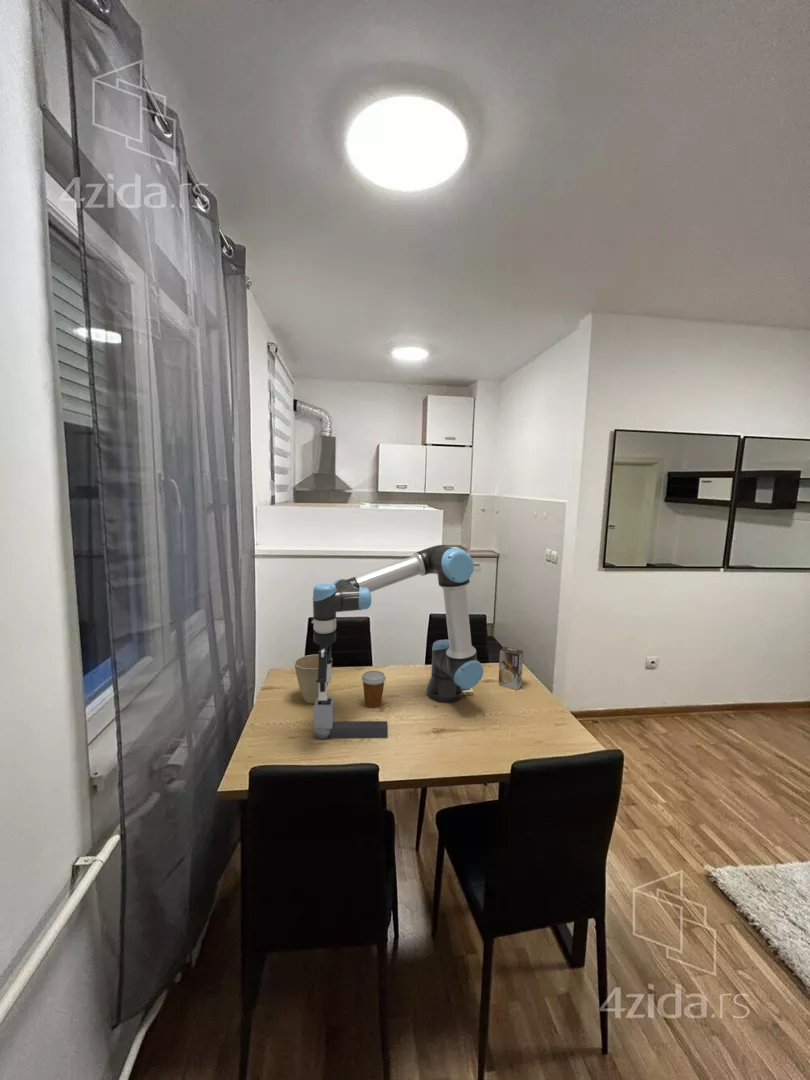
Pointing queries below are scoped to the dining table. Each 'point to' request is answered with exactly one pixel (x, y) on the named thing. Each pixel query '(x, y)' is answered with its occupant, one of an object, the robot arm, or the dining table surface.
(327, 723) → the socket
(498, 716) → the dining table surface
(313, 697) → the plant pot
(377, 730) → the ratchet
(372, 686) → the disposable coffee cup
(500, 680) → the coffee box
